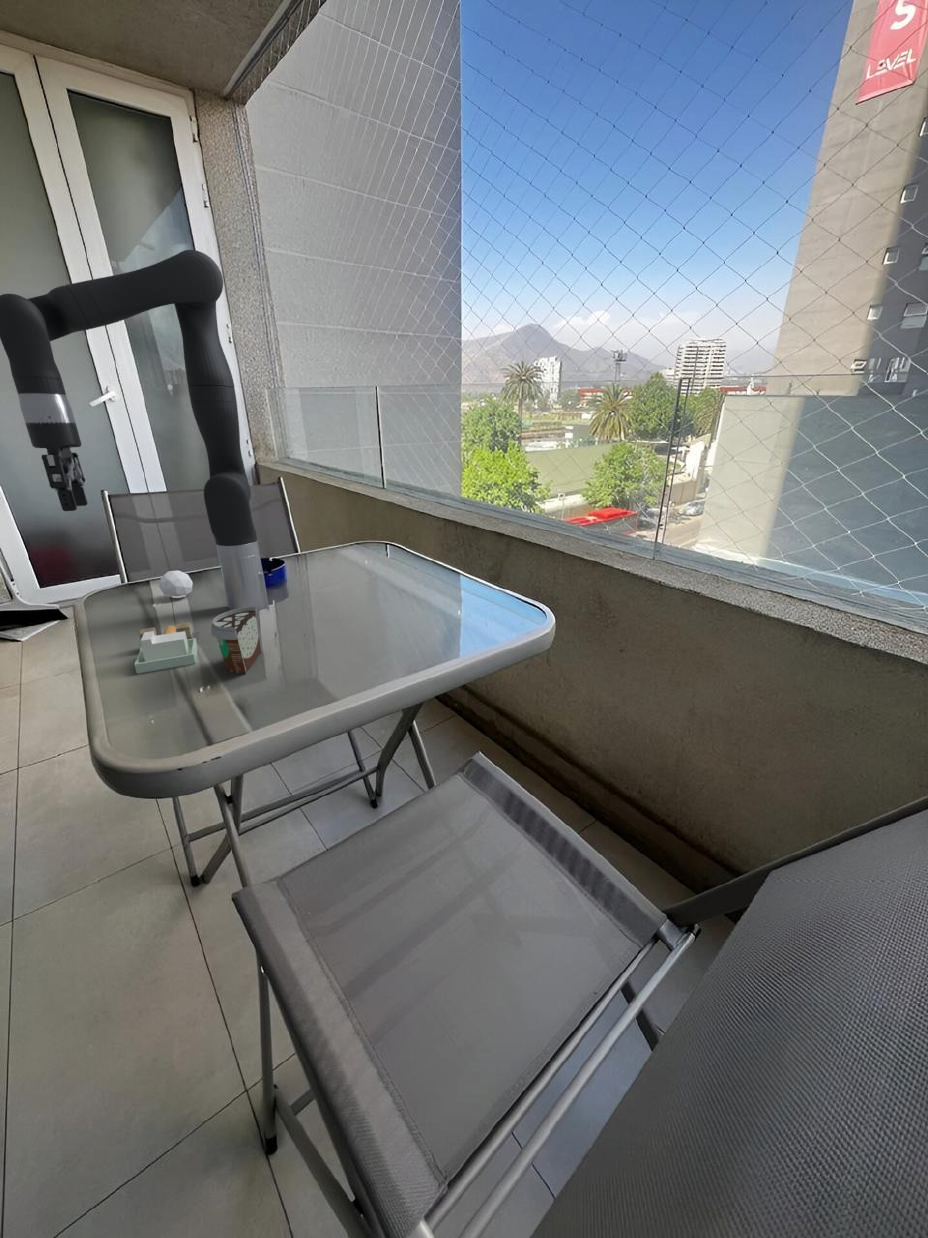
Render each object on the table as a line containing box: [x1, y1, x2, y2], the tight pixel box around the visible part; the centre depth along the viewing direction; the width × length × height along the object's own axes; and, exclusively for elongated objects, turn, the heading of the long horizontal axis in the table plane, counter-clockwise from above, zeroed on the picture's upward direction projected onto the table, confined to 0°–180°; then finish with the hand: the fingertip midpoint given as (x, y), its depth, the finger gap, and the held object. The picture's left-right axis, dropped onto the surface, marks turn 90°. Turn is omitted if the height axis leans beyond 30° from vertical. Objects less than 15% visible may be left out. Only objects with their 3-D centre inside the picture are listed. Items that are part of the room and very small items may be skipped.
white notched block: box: [140, 631, 189, 662], centre depth 94 cm, size 7×4×5 cm, turn 115°
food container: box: [210, 607, 263, 675], centre depth 91 cm, size 12×6×10 cm, turn 5°
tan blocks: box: [139, 621, 194, 640], centre depth 101 cm, size 9×3×4 cm, turn 115°
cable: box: [163, 625, 176, 634], centre depth 103 cm, size 2×9×2 cm, turn 25°
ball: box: [158, 570, 194, 597], centre depth 132 cm, size 8×8×8 cm
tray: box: [134, 638, 199, 675], centre depth 95 cm, size 10×9×2 cm
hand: (76, 508), depth 98 cm, fingers open, 8 cm apart
